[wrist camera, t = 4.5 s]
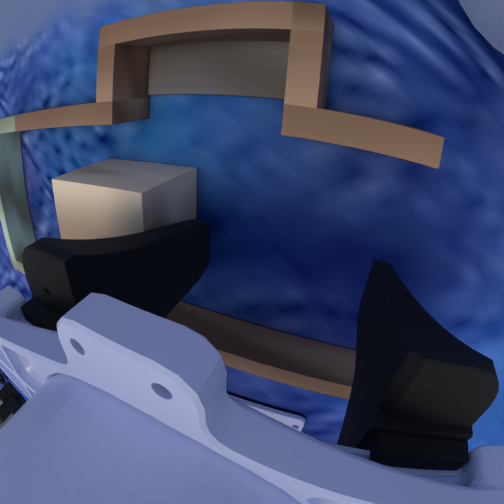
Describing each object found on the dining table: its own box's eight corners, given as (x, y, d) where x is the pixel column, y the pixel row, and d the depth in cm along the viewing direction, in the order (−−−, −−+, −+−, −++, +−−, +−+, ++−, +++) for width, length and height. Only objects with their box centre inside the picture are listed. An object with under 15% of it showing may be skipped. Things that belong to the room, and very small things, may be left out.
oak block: (196, 272, 16) (153, 317, 13) (117, 248, 17) (71, 281, 14) (197, 167, 13) (141, 193, 10) (109, 158, 15) (51, 179, 11)
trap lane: (338, 400, 17) (331, 432, 15) (43, 287, 24) (25, 301, 22) (437, 46, 8) (454, 32, 6) (13, 72, 14) (-13, 76, 12)
